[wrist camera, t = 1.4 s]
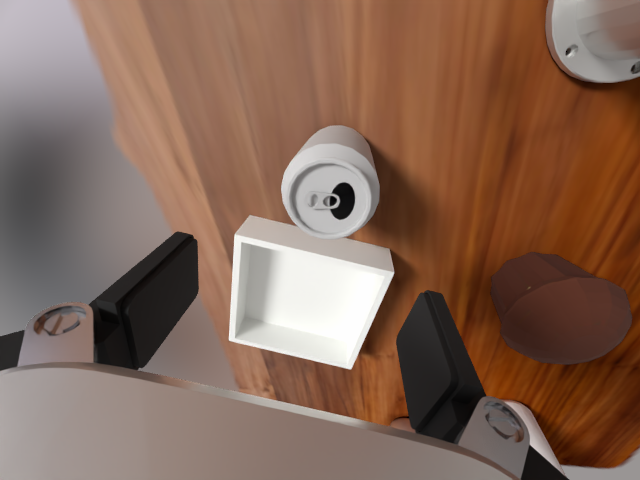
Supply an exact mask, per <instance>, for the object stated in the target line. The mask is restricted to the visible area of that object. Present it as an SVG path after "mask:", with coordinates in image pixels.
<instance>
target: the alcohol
mask: <svg viewBox="0 0 640 480" xmlns="http://www.w3.org/2000/svg"><path fill="white" fill-rule="evenodd" d="M502 401H503V402H505V403H506V404H508V405H509V406H510V407H511V408H513V409H514V410H515V411H516V412H517V413H518V415H519V416H520V417H521V418H522V420H523V421H524V423H525V425H526V426H527V428H528V431H529V434H530V445H531V446H532V447H533V448H534V449H535V450H536V451H538V452H539V453H540V454H541V455H542V456H543V457H544V458H545V459H547V460H548V461H549V462H550V463H551V464H552V465H553V466H554V467H555V468H557V469H558V470H559V471H560V472H561V473H562V474H563V475H564V476H565V473H564V472H563V470H562V468H561V466H560V464H559V462H558V460H557V458H556V457H555V455H554V453H553V451H552V449H551V447H550V445H549V444H548V442H547V440H546V438H545V436H544V434H543V433H542V431H541V429H540V427H539V425H538V423H537V421H536V420H535V418H534V416H533V414H532V412H531V411H530V410H529V409H528V408H527V407H526V406H524V405H523V404H521V403H520V402H517V401H513V400H502Z"/></svg>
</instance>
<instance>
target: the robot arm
mask: <svg viewBox="0 0 640 480" xmlns="http://www.w3.org/2000/svg"><path fill="white" fill-rule="evenodd" d="M545 30H546V38H547V45H548V47H549V50H550V52H551V55H552V57H553V59H554V60H555V62H556V63H557V64H558V66H559V67H560V68H561V69H562V70H563V71H564V72H566V73H567V74H568V75H570V76H571V77H574V78H576V79H579V80H582V81H586V82H594V83H614V82H620V81H626V80H631V79H634V78H637V77H640V0H549V1H548V5H547V10H546V25H545ZM566 50H567V53H566ZM565 53H566V54H565ZM198 289H199V286H198V246H197V240H196V239H194V237H193V235H191V234H187V233H182V232H176V233H174V234H173V235H172V236H171V237H169V238H168V239H167V240H166V241H165V242H163V244H161V245H160V246H159V247H157V248H156V249H155V250H154V251H153V252H151V253H150V254H149V255H148V256H147V257H145V258H144V259H143V260H142V261H140V262H139V263H138V264H137V265H136V266H134V267H133V268H132V269H131V270H130V271H128V272H127V273H126V274H125V275H123V276H122V277H121V278H120V279H119V280H117V281H116V282H115V283H114V284H113V285H111V286H110V287H109V288H108V289H107V290H106V291H104V292H103V293H102V294H101V295H100V296H98V297H97V298H96V299H95V300H93V301H92V302H91V303H90V304H89V305H87V304H84V303H81V302H67V303H61V304H58V305H54V306H51V307H49V308H47V309H44V310H42V311H41V312H39V313H38V314H36V315H35V316H34V317H33V318H32V319H31V320H30V321H29V322H28V324H27V326H26V328H25V330H22V331H19V332H15V333H11V334H8V335H4V336H0V480H569V479H568V478H567V477H566V476H564V475H563V474H562V473H561V472H560V471H559V470H558V469H557V468H555V467H554V466H553V465H552V464H551V463H550V462H549V461H548V460H547V459H545V458H544V457H543V456H542V455H541V454H540V453H539V452H538V451H536V450H535V449H534V448H533V447H532V446H531V445H530V434H529V431H528V428H527V426H526V425H525V423H524V421H523V420H522V418H521V417H520V416H519V415H518V413H517V412H516V411H515V410H514V409H513V408H511V407H510V406H509V405H508V404H506V403H505V402H503V401H502V400H500V399H497V398H495V397H490V396H486V394H485V392H484V389H483V387H482V385H481V383H480V380H479V378H478V376H477V373H476V371H475V369H474V366H473V364H472V362H471V359H470V357H469V355H468V353H467V350H466V348H465V346H464V343H463V341H462V339H461V336H460V334H459V332H458V330H457V327H456V325H455V323H454V320H453V318H452V316H451V313H450V311H449V309H448V306H447V304H446V302H445V300H444V297H443V295H442V294H441V293H437V292H433V291H429V290H426V291H425V292H424V293H420V294H419V296H418V298H417V300H416V302H415V304H414V305H413V307H412V309H411V311H410V313H409V315H408V317H407V319H406V320H405V322H404V324H403V326H402V328H401V330H400V332H399V334H398V336H397V340H396V345H397V350H398V356H399V362H400V368H401V374H402V379H403V385H404V391H405V397H406V403H407V409H408V414H409V420H410V425H411V428H412V429H414V430H415V432H416V433H413V432H409V431H405V430H401V429H397V428H393V427H389V426H385V425H380V424H376V423H372V422H367V421H363V420H359V419H354V418H350V417H346V416H341V415H337V414H333V413H328V412H324V411H320V410H315V409H311V408H307V407H302V406H298V405H293V404H289V403H285V402H280V401H276V400H271V399H267V398H262V397H258V396H253V395H249V394H245V393H240V392H236V391H231V390H226V389H222V388H217V387H213V386H208V385H204V384H199V383H195V382H190V381H186V380H180V379H177V378H172V377H167V376H163V375H158V374H153V373H147V372H142V371H138V368H139V367H140V368H143V367H144V366H145V365H146V364H147V363H148V362H149V360H150V359H151V357H152V356H153V355H154V353H155V352H156V351H157V349H158V348H159V347H160V345H161V344H162V343H163V341H164V340H165V339H166V337H167V336H168V334H169V333H170V331H171V330H172V329H173V328H174V326H175V325H176V323H177V322H178V321H179V320H180V318H181V317H182V315H183V314H184V313H185V311H186V310H187V309H188V307H189V306H190V305H191V303H192V302H193V301H194V299H195V298H196V296H197V294H198Z"/></svg>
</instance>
